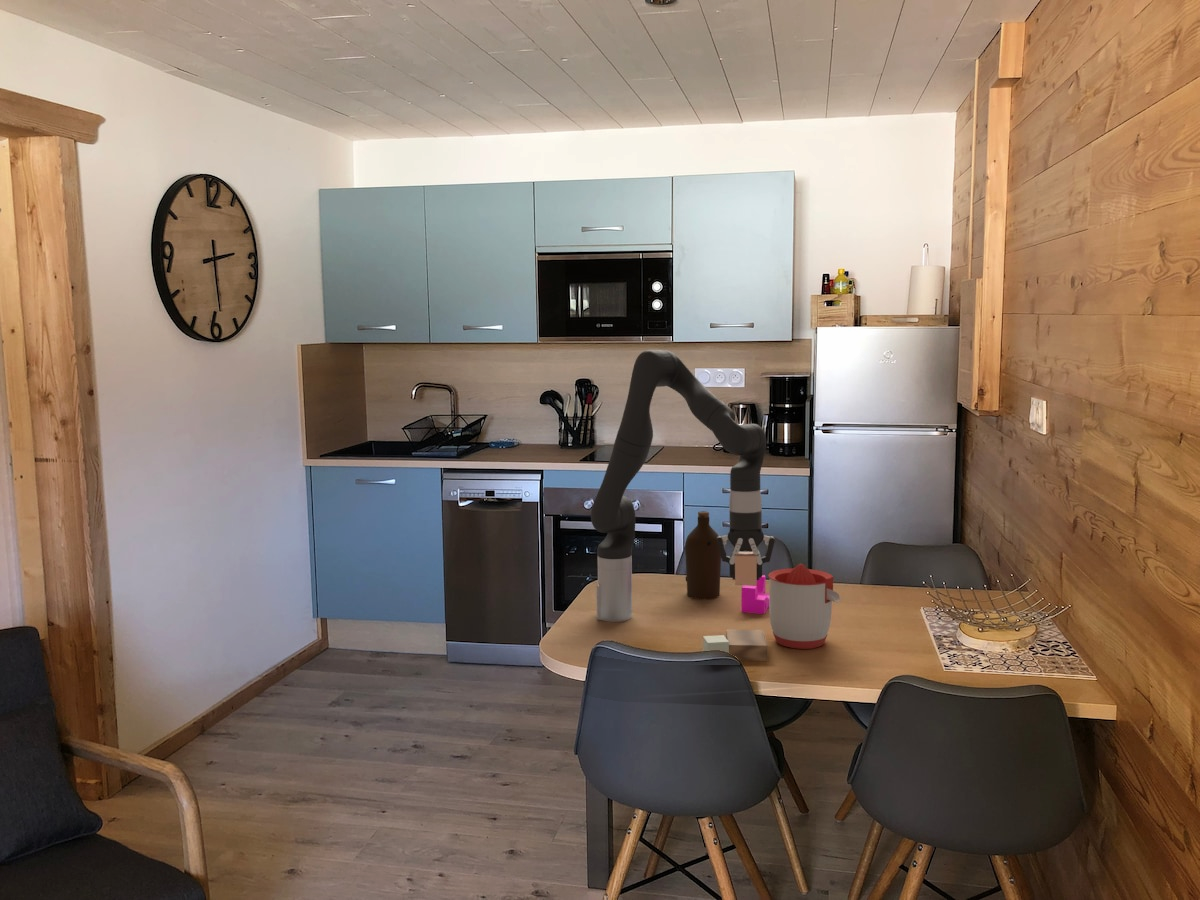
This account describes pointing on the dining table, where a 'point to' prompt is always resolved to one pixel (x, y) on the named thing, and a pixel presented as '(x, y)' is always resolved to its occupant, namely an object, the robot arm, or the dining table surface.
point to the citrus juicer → (801, 606)
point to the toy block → (755, 597)
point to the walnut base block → (747, 644)
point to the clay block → (745, 569)
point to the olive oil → (703, 560)
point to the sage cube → (715, 643)
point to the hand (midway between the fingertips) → (746, 578)
